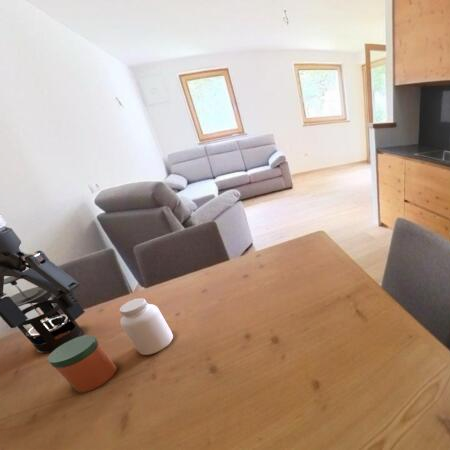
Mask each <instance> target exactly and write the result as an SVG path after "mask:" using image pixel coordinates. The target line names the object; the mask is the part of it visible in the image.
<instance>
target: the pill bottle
mask: <svg viewBox="0 0 450 450" xmlns="http://www.w3.org/2000/svg"><path fill="white" fill-rule="evenodd" d="M119 313H120V314H121V316H122V317H121V318H120V326H121V328H122V329H123V331H124V332H125V334H126V335H127V337H128V339H129V340H130V341H131V343H132V345H133V346H134V347H135V349H136V350H137V352H138V353H139V354H141V355H143V356H148V355H149V356H150V355H153V354H156V353H158V352H160V351H162V350H163V349H165V348H166V347H168V345H170V344H171V342H172V341H173V339H174V334H173V332H172V330H171V328H170V326H169V325H168V323H167V321H166V320H165V317H164V315H163V314H162V313H161V311H160V309H159V307H158V306H157V305H155V304H151V303H148V302H147V300H146V299H145V298H141V297H140V298H139V297H138V298H134V299H131V300H129V301H127V302H125V303H123V305H121V306H120V308H119Z"/></svg>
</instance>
